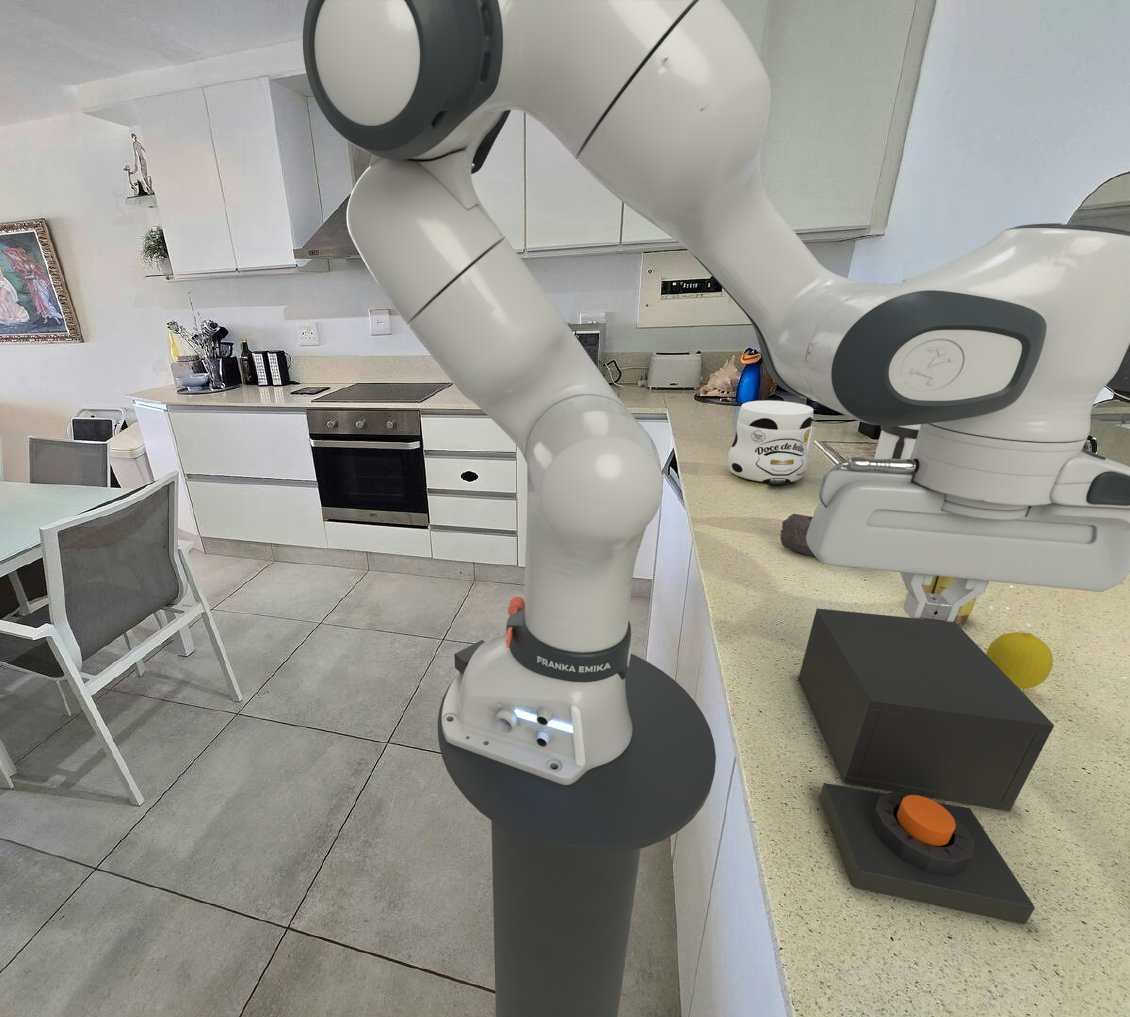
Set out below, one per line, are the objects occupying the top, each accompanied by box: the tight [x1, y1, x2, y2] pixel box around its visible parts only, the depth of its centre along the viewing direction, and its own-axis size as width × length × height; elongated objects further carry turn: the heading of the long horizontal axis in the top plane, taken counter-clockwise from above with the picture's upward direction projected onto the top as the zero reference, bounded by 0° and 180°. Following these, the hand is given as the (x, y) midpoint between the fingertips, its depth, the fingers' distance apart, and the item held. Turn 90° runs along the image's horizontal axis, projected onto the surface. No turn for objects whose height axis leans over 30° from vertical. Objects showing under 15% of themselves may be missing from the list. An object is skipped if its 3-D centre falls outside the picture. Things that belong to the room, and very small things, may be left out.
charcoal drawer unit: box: [797, 607, 1055, 812], centre depth 59 cm, size 16×14×11 cm
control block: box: [818, 782, 1036, 925], centre depth 48 cm, size 12×9×4 cm
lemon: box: [985, 631, 1054, 690], centre depth 66 cm, size 6×6×8 cm
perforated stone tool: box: [779, 513, 816, 557], centre depth 98 cm, size 15×5×7 cm, turn 54°
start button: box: [897, 795, 956, 846], centre depth 47 cm, size 4×4×2 cm
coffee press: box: [873, 424, 921, 459], centre depth 105 cm, size 17×16×30 cm
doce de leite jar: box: [727, 400, 814, 486], centre depth 133 cm, size 17×17×18 cm
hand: (927, 616), depth 47 cm, fingers closed
